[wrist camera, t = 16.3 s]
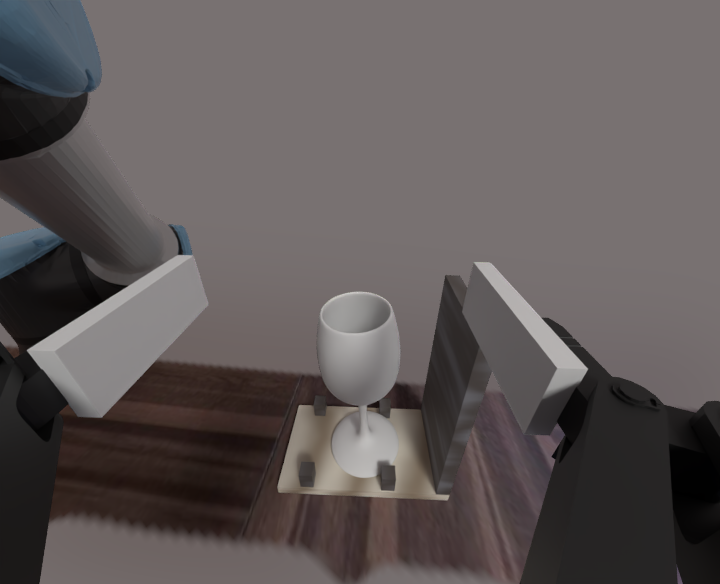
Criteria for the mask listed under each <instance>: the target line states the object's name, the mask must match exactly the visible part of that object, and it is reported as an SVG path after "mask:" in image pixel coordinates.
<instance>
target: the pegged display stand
mask: <svg viewBox="0 0 720 584" xmlns="http://www.w3.org/2000/svg"><path fill="white" fill-rule="evenodd" d="M466 292H467V287H466V285H465V284H464V282H463V280H462V279H461V277H460V276H451V275H449V276H448V275H446V276H445V281H444V286H443V292H442V297H441V303H440V308H439V313H438V319H437V325H436V330H435V335H434V341H433V346H432V352H431V357H430V362H429V368H428V374H427V379H426V384H425V390H424V395H423V401H422V406H421V410H416V409H391V402H390V398H382V399H380V401H379V408H367V411H372V412H376V413H378V414H381V415H382V416H384V417H385V418H387V419H388V420H389V421H390V422H391V423H392V425H393V426H394V428H395V430H396V432H397V435H398V439H399V449H398V453H397V456H396V459H395V460H394V462H393V464H392V465H382V468H381V474H380V475H377V476H374V477H370V478H359V477H355V476H352V475H350V474H348V473H346V472H345V471H344V470H342V469H341V468H340V467H339V465H338V464H337V463H336V461H335V459H334V457H333V453H332V448H331V442H332V436H333V433H334V431H335V429H336V427H337V425H338V424H339V423H340V422H341V421H342V420H343V419H344V418H345V417H347V416H348V415H350V414H353V413H355V412H359V407H337V406H327V404H326V396H315V400H314V406H311V405H299V407H298V411H297V415H296V418H295V422H294V426H293V430H292V433H291V437H290V441H289V445H288V449H287V452H286V456H285V460H284V464H283V467H282V471H281V475H280V479H279V482H278V486H277V488H278V492H279V493H300V494H322V495H344V496H365V497H387V498H409V499H430V500H448V498H449V495H450V492H451V489H452V486H453V483H454V480H455V477H456V474H457V471H458V468H459V466H460V463H461V460H462V457H463V454H464V451H465V448H466V445H467V442H468V439H469V436H470V433H471V431H472V428H473V425H474V422H475V419H476V416H477V413H478V410H479V407H480V404H481V401H482V398H483V396H484V393H485V390H486V387H487V384H488V381H489V378H490V375H491V372H492V370H491V368H490V366H489V364H488V362H487V360H486V358H485V356H484V354H483V352H482V350H481V348H480V346H479V344H478V342H477V341H476V339H475V337H474V335H473V333H472V331H471V329H470V327H469V325H468V323H467V321H466V319H465V317H464V315H463V313H462V310H463V305H464V301H465V297H466Z"/></svg>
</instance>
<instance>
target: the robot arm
mask: <svg viewBox="0 0 720 584" xmlns="http://www.w3.org/2000/svg"><path fill="white" fill-rule="evenodd" d="M101 77H102V69H101V61H100V56H99V52H98V49H97V46H96V42H95V39H94V36H93V33H92V30H91V27H90V24H89V22H88V19H87V17H86V14H85V11H84V9H83V6H82V4H81V1H80V0H0V198H1V199H3V200H4V201H6V202H8V203H9V204H10V205H12V206H14V207H15V208H17V209H18V210H20V211H21V212H23V213H24V214H26V215H27V216H29V217H30V218H32V219H33V220H35V221H36V222H38V223H39V224H41V225H42V226H44V227H43V228H37V229H32V230H28V231H23V232H19V233H15V234H11V235H7V236H4V237H1V238H0V323H1V324H2V326H3V327H4V328H5V329H6V330H7V332H8V333H9V334H10V335H11V337H12V338H13V339H14V340H15V342H16V343H17V345H18V347H19V354H20V355H19V356H18V357H16V358H13V357H12V355H11V354H10V353H9V352H8V351H7V349H6V348H5V347H4V346H3V344H2V343H1V342H0V584H39V582H40V576H41V569H42V563H43V556H44V549H45V543H46V536H47V529H48V523H49V516H50V509H51V503H52V496H53V489H54V483H55V476H56V469H57V463H58V456H59V449H60V443H61V436H62V429H63V423H64V422H63V418H62V416H61V415H60V414H59V412H60V411H61V410H62V409H63V408H64V407H65V406H66V405H68V404H69V406H70V407H71V408H72V410H73V411H74V412H75V413H76V415H77V416H78V417H98V418H102V417H103V416H104V415H105V414H106V413H107V412H108V410H109V409H110V408H111V407H112V406H113V405H114V404H115V403H116V402H117V401H118V400H119V399H120V398H121V397H122V396H123V395H124V394H125V393H126V391H127V390H128V389H129V388H130V387H131V386H132V385H133V384H134V383H135V382H136V381H137V380H138V379H139V378H140V377H141V376H142V375H143V374H144V372H145V371H146V370H147V369H148V368H149V367H150V366H151V365H152V364H153V363H154V362H155V361H156V360H157V359H158V358H159V357H160V356H161V354H162V353H163V352H164V351H165V350H166V349H167V348H168V347H169V346H170V345H171V344H172V343H173V342H174V341H175V340H176V339H177V338H178V337H179V335H180V334H181V333H182V332H183V331H184V330H185V329H186V328H187V327H188V326H189V325H190V324H191V323H192V322H193V321H194V320H195V319H196V318H197V317H198V315H199V314H200V313H201V312H202V311H203V310H204V309H205V308H206V307H207V306H208V305H209V303H208V300H207V297H206V294H205V291H204V287H203V284H202V281H201V278H200V275H199V271H198V268H197V265H196V262H195V258H194V256H193V254H192V250H191V246H190V242H189V239H188V235H187V232H186V230H185V228H184V227H183V226H181V225H173V224H170V225H167V224H165V223H164V222H163V221H161V220H160V219H158V218H156V217H154V216H152V215H149V214H148V212H147V211H146V209H145V208H144V206H143V205H142V203H141V202H140V200H139V199H138V197H137V196H136V194H135V193H134V191H133V190H132V188H131V187H130V185H129V184H128V182H127V181H126V179H125V178H124V176H123V175H122V173H121V172H120V170H119V169H118V167H117V166H116V164H115V163H114V161H113V160H112V159H111V157H110V155H109V154H108V152H107V150H106V149H105V147H104V146H103V145H102V143H101V142H100V140H99V138H98V137H97V135H96V134H95V132H94V131H93V129H92V128H91V126H90V125H89V123H88V122H87V120H86V119H85V117H86V115H87V112H88V109H89V103H90V92H92V91H94V90H96V88H97V87H98V86H99V84H100V82H101ZM462 313H463V315H464V317H465V319H466V321H467V323H468V325H469V327H470V329H471V331H472V333H473V335H474V337H475V339H476V341H477V342H478V344H479V346H480V348H481V350H482V352H483V354H484V356H485V358H486V360H487V362H488V364H489V366H490V368H491V370H492V372H493V374H494V376H495V378H496V380H497V382H498V384H499V386H500V388H501V390H502V392H503V394H504V396H505V398H506V400H507V402H508V404H509V406H510V408H511V410H512V412H513V414H514V416H515V418H516V420H517V422H518V424H519V426H520V428H521V429H522V431H523V433H524V434H525V435H550V434H551V432H552V431H553V429H554V427H555V426H556V424H557V423H558V424H559V426H560V427H561V429H562V430H563V432H564V434H565V436H564V438H563V439H562V441H561V442H560V444H559V446H558V447H557V449H556V450H555V452H554V454H553V455H552V458H554V459H556V460H555V464H554V467H553V471H552V474H551V477H550V481H549V484H548V488H547V491H546V495H545V498H544V502H543V505H542V509H541V512H540V516H539V519H538V522H537V526H536V529H535V533H534V536H533V540H532V543H531V547H530V550H529V554H528V557H527V560H526V564H525V567H524V571H523V574H522V578H521V581H520V584H678V583H677V567H678V570H679V573H680V576H681V579H682V582H683V584H720V402H719V401H708V402H706V403H705V404H704V405H703V406H702V407H701V408H700V409H699V410H698V411H697V412H696V413H694V412H690V411H686V410H682V409H678V408H674V407H670V406H667V405H664V404H663V403H662V402H661V401H660V400H659V399H658V398H657V397H656V396H655V395H654V394H652V393H651V392H650V391H648V390H647V389H645V388H644V387H642V386H640V385H638V384H635V383H634V382H631V381H628V380H625V379H622V378H619V377H612V376H611V375H610V374H609V373H608V372H607V371H606V370H605V369H604V368H603V367H602V366H601V365H600V364H599V363H598V362H597V361H596V360H595V359H594V358H593V357H592V356H591V355H590V354H589V353H588V352H587V351H586V350H585V349H584V348H583V347H581V345H580V344H579V343H578V342H577V341H576V340H575V339H573V338H572V336H571V335H570V334H569V333H568V332H567V331H566V330H565V329H564V328H563V327H562V326H561V325H559V324H558V323H556V322H554V321H553V320H551V319H549V318H541V317H540V316H539V315H538V314H537V313H536V312H535V311H534V310H533V308H532V307H531V306H530V305H529V304H528V303H527V302H526V301H525V300H524V299H523V298H522V296H521V295H520V294H519V293H518V292H517V291H516V290H515V289H514V288H513V287H512V286H511V284H510V283H509V282H508V281H507V280H506V279H505V278H504V277H503V276H502V275H501V274H500V272H498V270H497V269H496V268H495V267H494V266H493V265H492V264H491V263H487V262H474V263H473V267H472V271H471V276H470V280H469V284H468V288H467V292H466V297H465V301H464V305H463V310H462ZM676 564H677V567H676Z"/></svg>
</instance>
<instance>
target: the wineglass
mask: <svg viewBox="0 0 720 584" xmlns="http://www.w3.org/2000/svg"><path fill="white" fill-rule="evenodd" d="M317 356H318V363H319V368H320V372H321V375H322V378H323V381H324V383H325V385H326V387H327V388H328V390H329V391H330V392H331V393H332V394H333V395H334V396H335V397H336V398H338V399H339V400H341V401H343V402H345V403H348V404H351V405H358V407H359V412H355V413H353V414H350V415H348V416H347V417H345V418H344V419H343V420H342V421H341V422H340V423H339V424H338V425H337V427H336V429H335V431H334V433H333V436H332V442H331V448H332V453H333V457H334V459H335V461H336V463H337V464H338V465H339V467H340V468H341V469H342V470H344V471H345V472H346V473H348V474H350V475H352V476H355V477H359V478H370V477H374V476H377V475H380V474H381V468H382V465H392V464H393V462H394V460H395V459H396V456H397V453H398V449H399V439H398V435H397V432H396V430H395V428H394V426H393V425H392V423H391V422H390V421H389V420H388V419H387V418H385V417H384V416H382V415H381V414H378V413H376V412H372V411H367V405H369V404H372V403H374V402H377V401H379V400H380V399H382V398H383V397H384V396H385V395H387V394H388V392H389V391H390V390H391V389H392V387H393V386H394V384H395V382H396V379H397V376H398V372H399V365H400V340H399V333H398V328H397V324H396V319H395V315H394V312H393V309H392V307H391V305H390V303H389V302H388V301H387V300H386V299H384V298H382V297H381V296H379V295H376V294H373V293H368V292H349V293H345V294H341V295H338V296H336V297H334V298H332V299H331V300H329V301H328V302H326V303H325V305H324V306H323V307H322V309H321V311H320V314H319V322H318V331H317Z"/></svg>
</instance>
